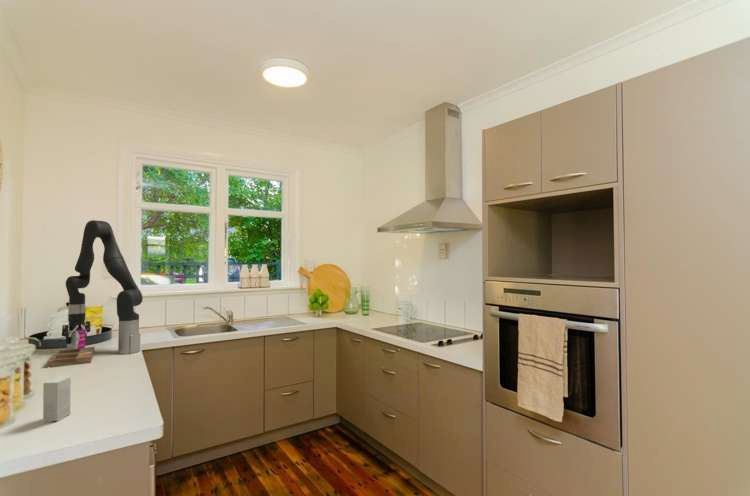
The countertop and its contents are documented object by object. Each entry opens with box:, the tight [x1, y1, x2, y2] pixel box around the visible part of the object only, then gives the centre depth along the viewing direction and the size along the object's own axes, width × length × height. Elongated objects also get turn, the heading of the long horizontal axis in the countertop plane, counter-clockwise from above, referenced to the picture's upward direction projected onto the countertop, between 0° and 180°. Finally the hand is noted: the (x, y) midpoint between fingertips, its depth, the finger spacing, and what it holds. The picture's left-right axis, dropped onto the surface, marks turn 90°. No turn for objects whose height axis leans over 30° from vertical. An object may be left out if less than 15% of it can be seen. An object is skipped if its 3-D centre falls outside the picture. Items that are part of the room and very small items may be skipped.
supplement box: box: [66, 329, 86, 350], centre depth 213 cm, size 6×6×12 cm
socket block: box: [47, 346, 95, 369], centre depth 194 cm, size 25×16×3 cm, turn 32°
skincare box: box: [42, 376, 72, 423], centre depth 122 cm, size 6×4×12 cm
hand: (76, 342), depth 213 cm, fingers open, 8 cm apart
